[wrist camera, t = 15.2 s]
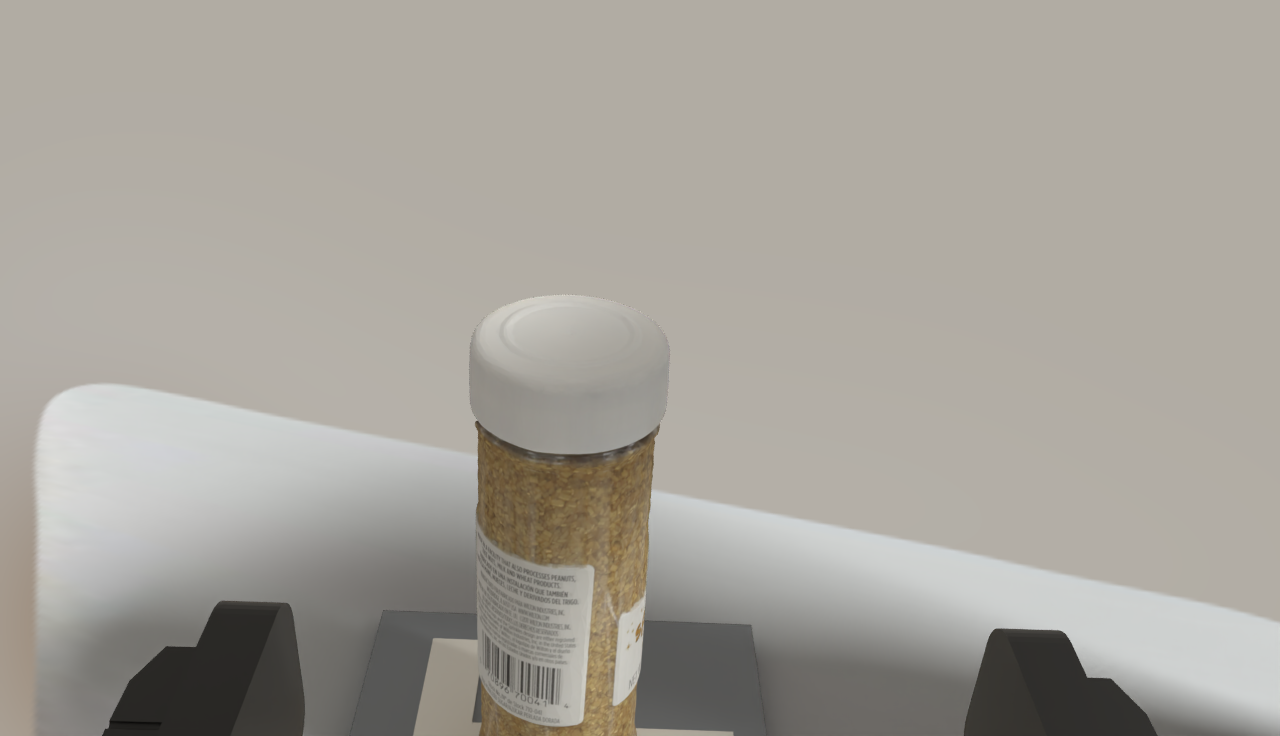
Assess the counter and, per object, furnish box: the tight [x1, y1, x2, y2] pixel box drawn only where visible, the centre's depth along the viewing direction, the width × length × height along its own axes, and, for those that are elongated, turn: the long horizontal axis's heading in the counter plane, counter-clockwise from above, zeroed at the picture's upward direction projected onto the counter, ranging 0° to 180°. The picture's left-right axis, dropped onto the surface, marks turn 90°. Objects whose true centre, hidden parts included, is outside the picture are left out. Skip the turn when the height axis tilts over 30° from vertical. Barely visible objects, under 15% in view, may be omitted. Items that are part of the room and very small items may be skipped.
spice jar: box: [469, 295, 670, 736], centre depth 29 cm, size 5×5×14 cm
